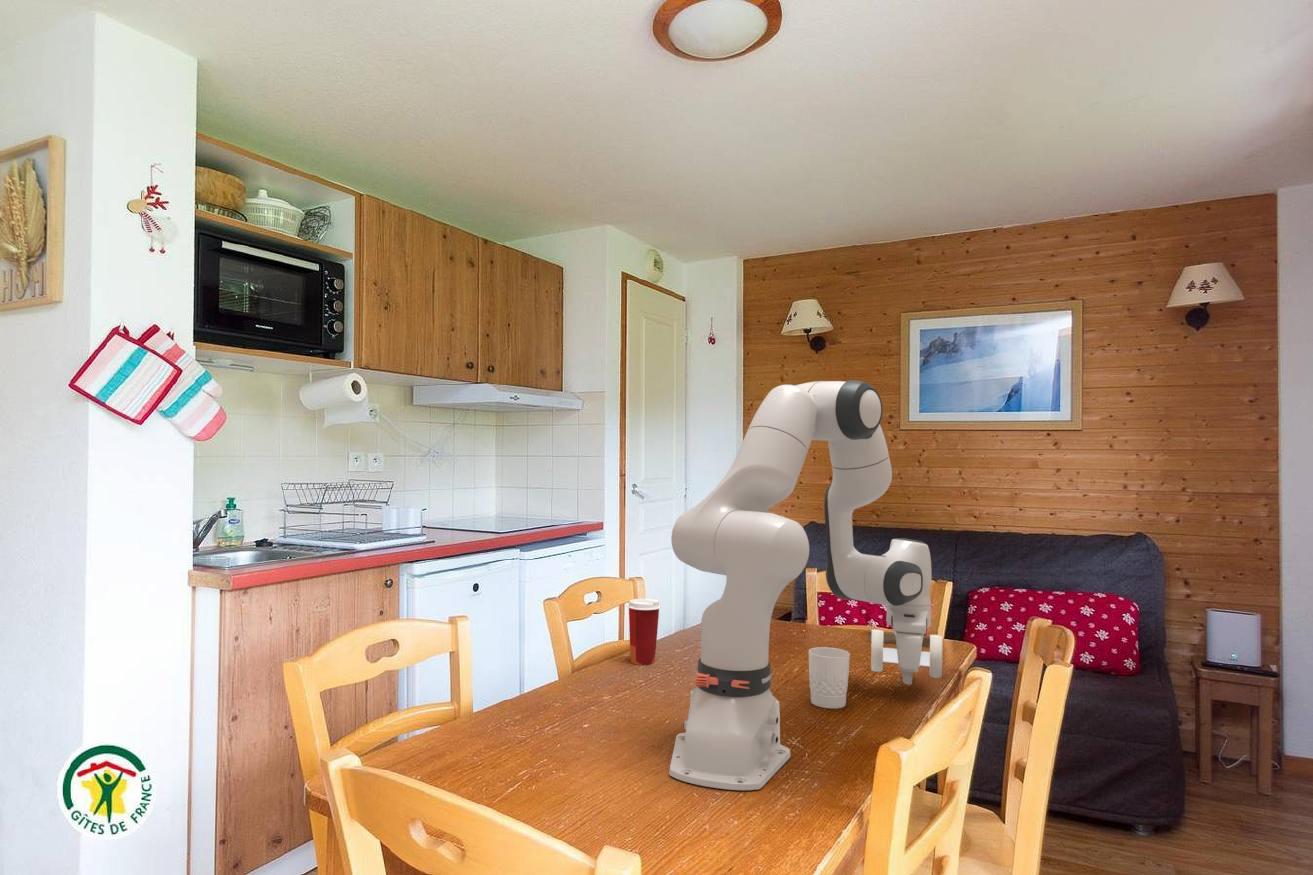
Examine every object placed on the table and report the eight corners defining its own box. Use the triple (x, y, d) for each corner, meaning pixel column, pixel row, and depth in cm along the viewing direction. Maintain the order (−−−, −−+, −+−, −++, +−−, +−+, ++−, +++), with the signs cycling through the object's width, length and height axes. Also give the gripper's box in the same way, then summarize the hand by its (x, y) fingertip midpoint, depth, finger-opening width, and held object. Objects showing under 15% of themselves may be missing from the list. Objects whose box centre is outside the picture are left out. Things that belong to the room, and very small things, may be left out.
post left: (882, 672, 170) (883, 632, 170) (870, 671, 171) (871, 631, 171) (882, 669, 173) (883, 630, 173) (871, 668, 173) (871, 628, 174)
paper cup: (665, 661, 175) (667, 600, 175) (647, 668, 168) (649, 605, 169) (637, 655, 179) (639, 596, 179) (618, 662, 173) (620, 601, 173)
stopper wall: (940, 648, 194) (940, 638, 194) (868, 641, 199) (868, 631, 199) (940, 646, 196) (940, 636, 196) (868, 639, 201) (868, 630, 201)
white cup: (849, 711, 143) (850, 658, 143) (807, 707, 144) (808, 655, 145) (847, 698, 151) (848, 648, 151) (807, 695, 152) (808, 645, 152)
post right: (942, 678, 166) (942, 637, 167) (929, 677, 167) (930, 636, 167) (941, 675, 169) (942, 635, 169) (929, 674, 170) (929, 634, 170)
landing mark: (936, 667, 175) (936, 666, 175) (874, 661, 180) (874, 660, 180) (933, 653, 189) (933, 652, 189) (875, 647, 193) (875, 646, 193)
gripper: (892, 605, 169) (891, 667, 168) (892, 624, 149) (891, 694, 149) (922, 607, 167) (921, 670, 166) (926, 627, 147) (925, 698, 147)
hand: (907, 682), depth 157 cm, fingers closed
